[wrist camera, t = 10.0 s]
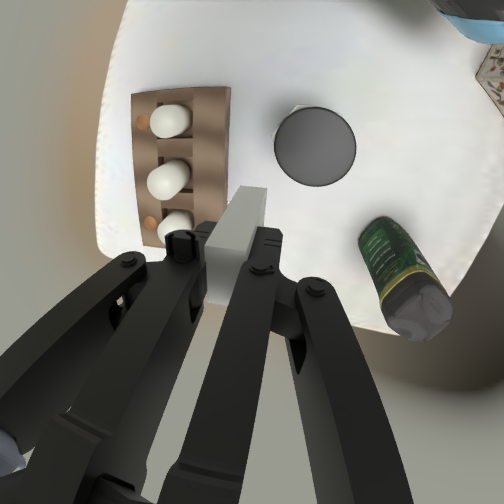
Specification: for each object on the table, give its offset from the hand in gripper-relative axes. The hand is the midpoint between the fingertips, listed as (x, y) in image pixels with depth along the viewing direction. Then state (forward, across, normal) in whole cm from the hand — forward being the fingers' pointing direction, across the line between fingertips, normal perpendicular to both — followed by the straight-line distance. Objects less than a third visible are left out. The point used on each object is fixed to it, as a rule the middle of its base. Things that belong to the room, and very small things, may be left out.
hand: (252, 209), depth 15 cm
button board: (+23, -14, -5) cm, 28 cm away
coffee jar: (+24, +19, -13) cm, 33 cm away
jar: (+24, +4, +2) cm, 25 cm away
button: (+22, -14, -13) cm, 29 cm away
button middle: (+21, -14, -5) cm, 26 cm away
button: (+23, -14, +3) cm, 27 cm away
